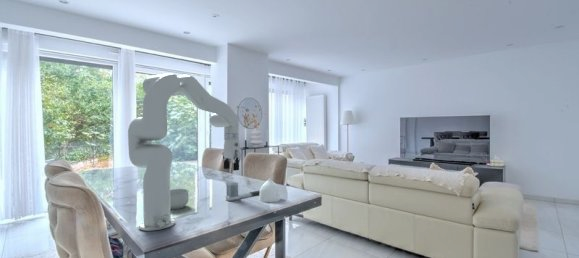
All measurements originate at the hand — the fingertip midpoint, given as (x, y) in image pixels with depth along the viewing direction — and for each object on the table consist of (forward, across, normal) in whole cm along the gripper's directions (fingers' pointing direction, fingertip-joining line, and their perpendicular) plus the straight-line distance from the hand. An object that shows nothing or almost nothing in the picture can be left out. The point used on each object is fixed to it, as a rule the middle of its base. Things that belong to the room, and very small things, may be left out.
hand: (231, 169), depth 147 cm
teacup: (+17, +7, +27) cm, 33 cm away
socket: (+14, 0, -1) cm, 14 cm away
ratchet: (+16, 0, -9) cm, 18 cm away
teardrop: (+16, -14, -15) cm, 26 cm away
